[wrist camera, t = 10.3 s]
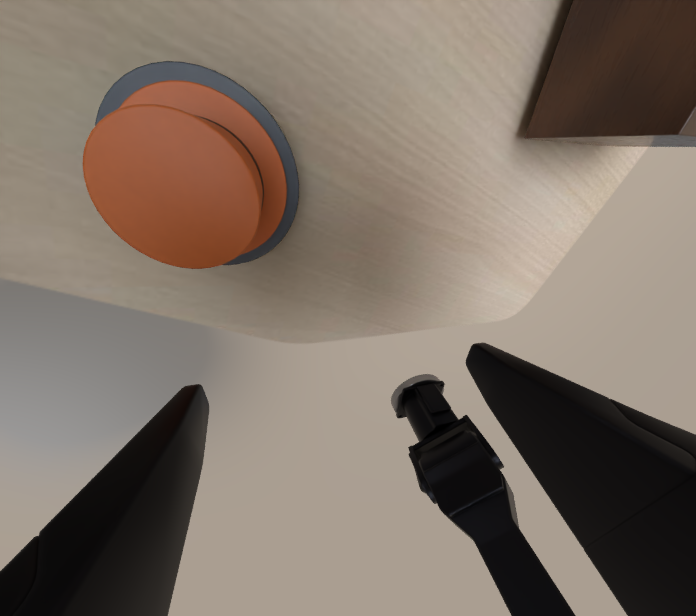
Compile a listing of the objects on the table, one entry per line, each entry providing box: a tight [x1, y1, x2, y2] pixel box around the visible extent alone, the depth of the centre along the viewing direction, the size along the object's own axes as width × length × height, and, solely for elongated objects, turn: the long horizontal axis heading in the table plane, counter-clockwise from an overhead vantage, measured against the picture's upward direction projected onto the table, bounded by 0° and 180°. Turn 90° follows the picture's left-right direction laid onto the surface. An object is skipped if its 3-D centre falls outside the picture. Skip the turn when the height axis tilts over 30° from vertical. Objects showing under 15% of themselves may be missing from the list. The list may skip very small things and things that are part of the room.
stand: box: [95, 61, 299, 265], centre depth 14 cm, size 9×9×2 cm
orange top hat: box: [83, 80, 287, 269], centre depth 11 cm, size 8×8×5 cm
